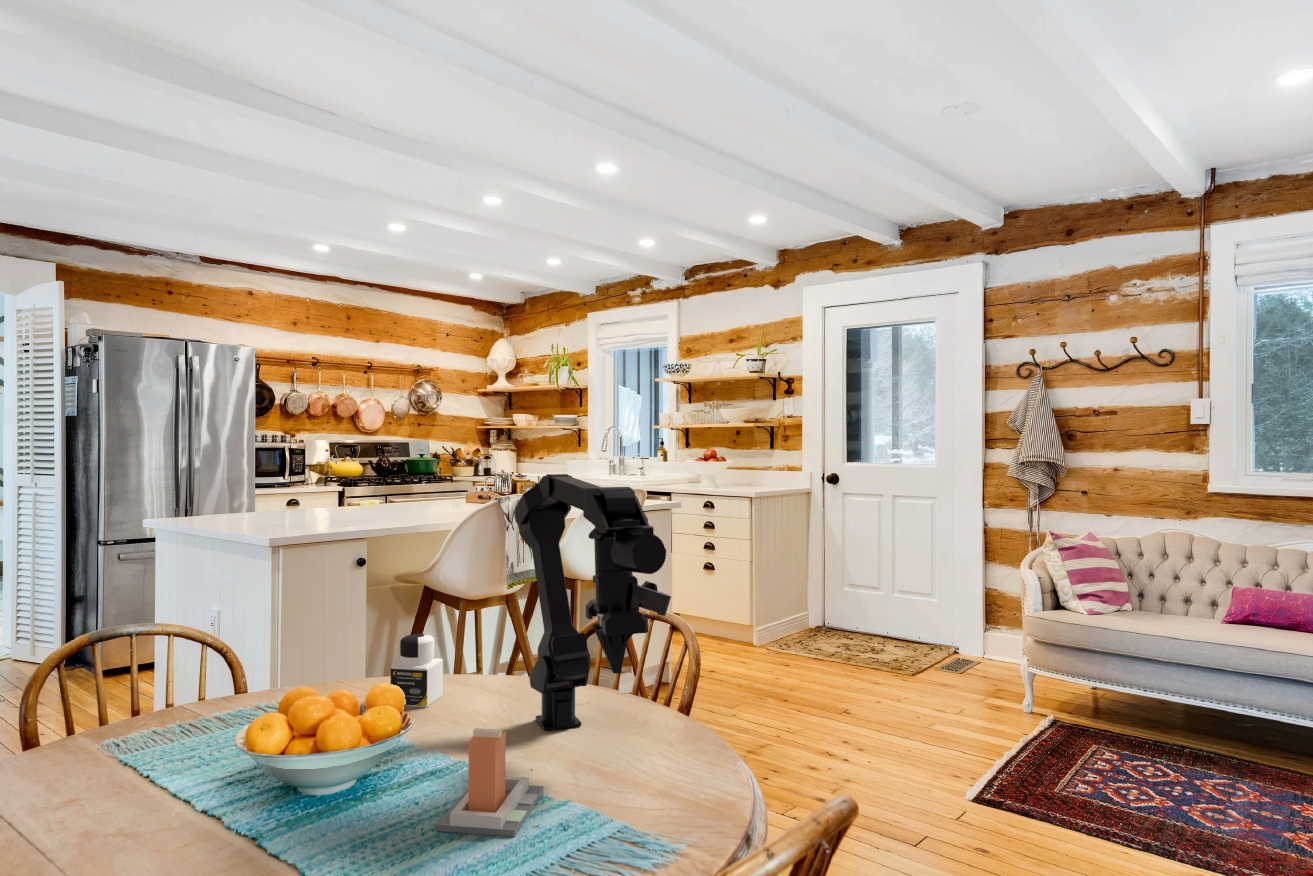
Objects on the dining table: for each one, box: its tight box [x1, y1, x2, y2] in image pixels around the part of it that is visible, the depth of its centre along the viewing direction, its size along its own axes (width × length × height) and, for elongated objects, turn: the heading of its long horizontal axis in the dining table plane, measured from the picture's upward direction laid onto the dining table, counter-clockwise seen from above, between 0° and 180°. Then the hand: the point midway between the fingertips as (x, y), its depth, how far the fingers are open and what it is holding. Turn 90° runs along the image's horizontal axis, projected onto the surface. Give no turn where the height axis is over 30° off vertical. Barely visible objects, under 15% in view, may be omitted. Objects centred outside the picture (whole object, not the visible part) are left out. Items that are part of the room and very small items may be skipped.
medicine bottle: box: [390, 633, 444, 708], centre depth 155 cm, size 7×7×12 cm
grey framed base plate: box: [435, 775, 544, 838], centre depth 110 cm, size 13×10×2 cm
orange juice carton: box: [467, 727, 507, 813], centre depth 108 cm, size 4×4×10 cm
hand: (616, 673), depth 128 cm, fingers closed
